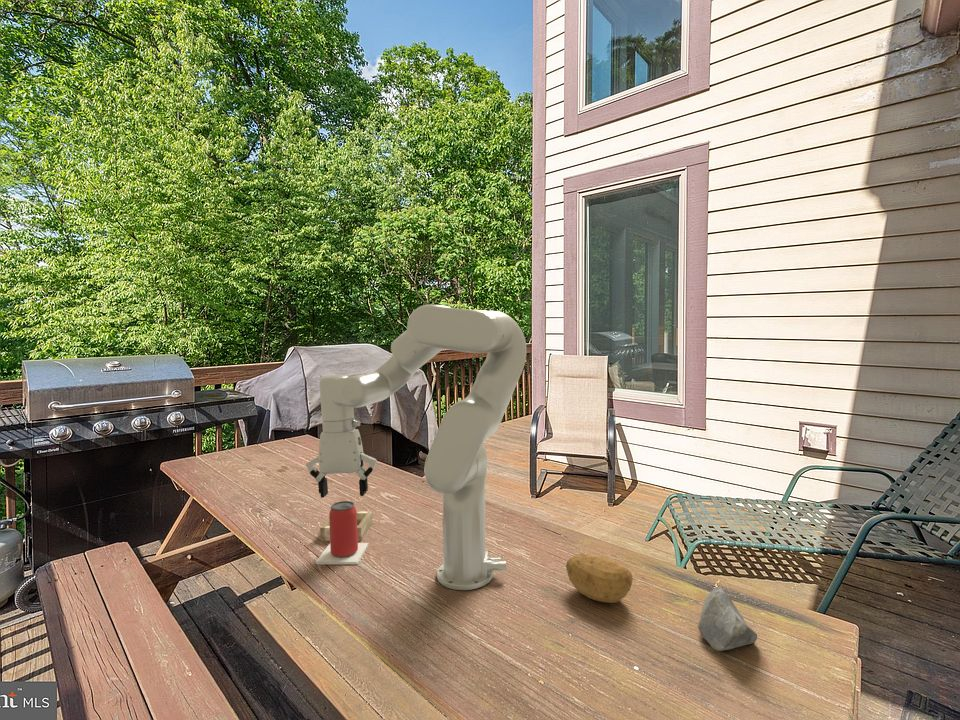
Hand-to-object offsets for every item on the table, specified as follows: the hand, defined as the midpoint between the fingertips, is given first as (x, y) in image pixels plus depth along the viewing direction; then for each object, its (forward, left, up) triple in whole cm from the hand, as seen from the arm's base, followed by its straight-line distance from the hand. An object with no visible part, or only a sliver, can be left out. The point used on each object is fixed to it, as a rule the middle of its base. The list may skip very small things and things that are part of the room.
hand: (343, 495), depth 118 cm
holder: (+4, -13, -15) cm, 20 cm away
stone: (-78, +31, -16) cm, 85 cm away
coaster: (+1, 0, -15) cm, 15 cm away
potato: (-58, +18, -15) cm, 63 cm away
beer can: (0, 0, -15) cm, 15 cm away
